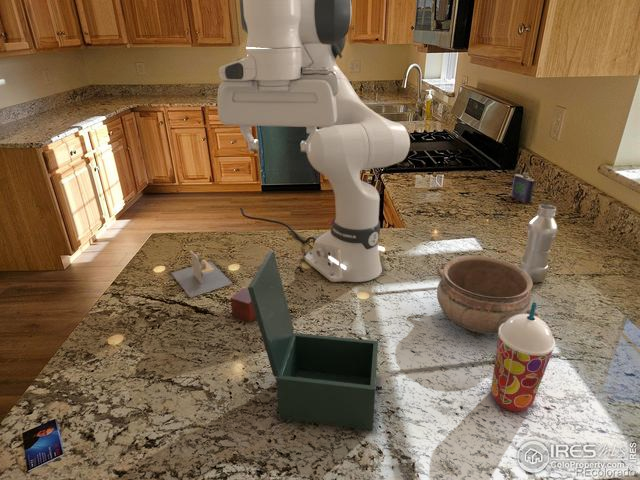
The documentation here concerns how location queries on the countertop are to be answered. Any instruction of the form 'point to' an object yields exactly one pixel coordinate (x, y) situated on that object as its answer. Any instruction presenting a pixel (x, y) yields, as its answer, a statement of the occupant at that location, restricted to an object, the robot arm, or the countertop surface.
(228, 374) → the countertop surface
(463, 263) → the cooking pot
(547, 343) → the smoothie
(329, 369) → the bin
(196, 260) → the architectural model
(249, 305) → the block
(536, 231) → the plastic bottle
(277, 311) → the bin lid
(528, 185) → the flask
